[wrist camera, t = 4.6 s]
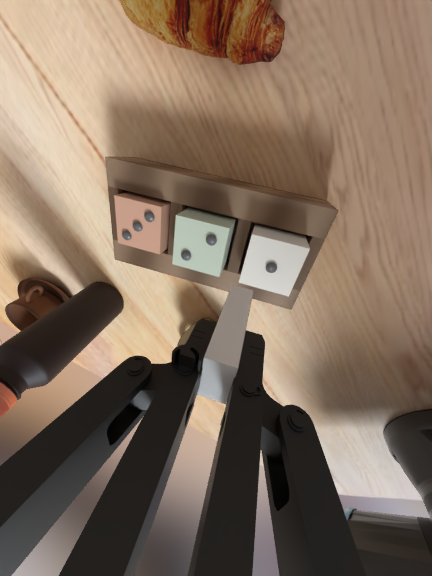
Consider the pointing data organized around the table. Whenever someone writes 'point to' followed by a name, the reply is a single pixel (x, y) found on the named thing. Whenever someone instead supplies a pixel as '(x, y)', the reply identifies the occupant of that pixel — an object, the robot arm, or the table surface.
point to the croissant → (213, 26)
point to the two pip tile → (202, 241)
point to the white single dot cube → (274, 259)
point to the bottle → (54, 341)
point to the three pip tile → (142, 221)
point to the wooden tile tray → (226, 202)
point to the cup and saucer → (34, 302)
